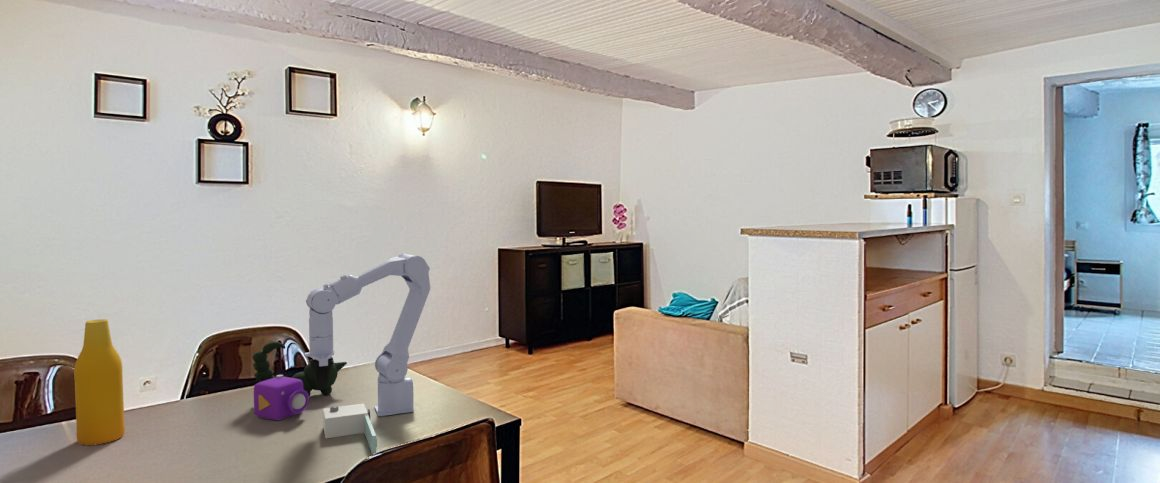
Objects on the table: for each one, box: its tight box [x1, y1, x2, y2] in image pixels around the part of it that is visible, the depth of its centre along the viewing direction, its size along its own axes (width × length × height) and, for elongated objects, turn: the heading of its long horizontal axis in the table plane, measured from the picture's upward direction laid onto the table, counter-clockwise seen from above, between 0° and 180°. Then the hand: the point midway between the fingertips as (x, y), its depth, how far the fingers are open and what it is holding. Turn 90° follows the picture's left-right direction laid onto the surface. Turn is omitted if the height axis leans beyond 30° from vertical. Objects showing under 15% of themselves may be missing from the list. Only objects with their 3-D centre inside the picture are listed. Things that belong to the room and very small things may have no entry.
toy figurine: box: [252, 341, 348, 398], centre depth 181 cm, size 9×19×25 cm
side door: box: [364, 414, 378, 455], centre depth 148 cm, size 15×1×5 cm, turn 26°
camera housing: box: [322, 402, 371, 439], centre depth 157 cm, size 11×8×6 cm
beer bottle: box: [73, 318, 126, 446], centre depth 148 cm, size 9×9×29 cm
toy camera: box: [253, 374, 310, 421], centre depth 167 cm, size 11×14×10 cm
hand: (322, 386), depth 160 cm, fingers closed
